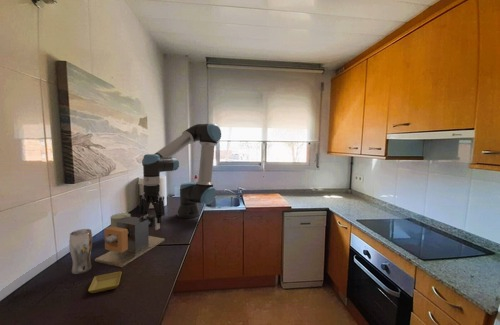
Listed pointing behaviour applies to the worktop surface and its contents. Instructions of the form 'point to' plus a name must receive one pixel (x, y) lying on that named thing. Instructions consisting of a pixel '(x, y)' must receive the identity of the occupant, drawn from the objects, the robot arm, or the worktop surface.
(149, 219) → the shaft
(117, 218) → the can
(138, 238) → the block
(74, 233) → the beer glass
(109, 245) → the strip
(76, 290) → the worktop surface
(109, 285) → the saucer
